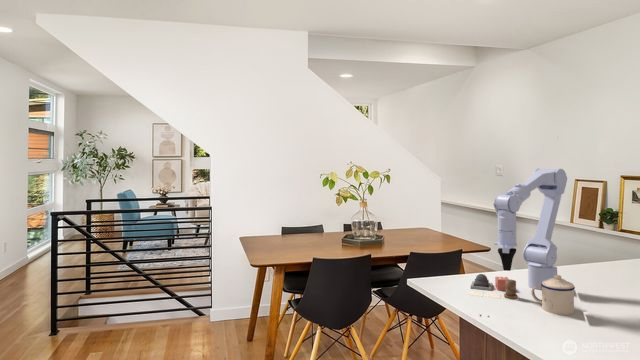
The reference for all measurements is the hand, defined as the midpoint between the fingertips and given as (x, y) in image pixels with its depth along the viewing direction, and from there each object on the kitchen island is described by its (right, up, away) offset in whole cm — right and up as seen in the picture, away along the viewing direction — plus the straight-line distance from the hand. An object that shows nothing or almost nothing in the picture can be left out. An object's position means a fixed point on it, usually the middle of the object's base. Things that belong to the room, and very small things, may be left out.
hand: (507, 270), depth 146 cm
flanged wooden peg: (+1, -9, -1) cm, 9 cm away
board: (-3, -10, +5) cm, 11 cm away
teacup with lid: (+9, -11, -12) cm, 18 cm away
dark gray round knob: (-4, -8, +11) cm, 15 cm away
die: (+2, -9, +8) cm, 12 cm away
